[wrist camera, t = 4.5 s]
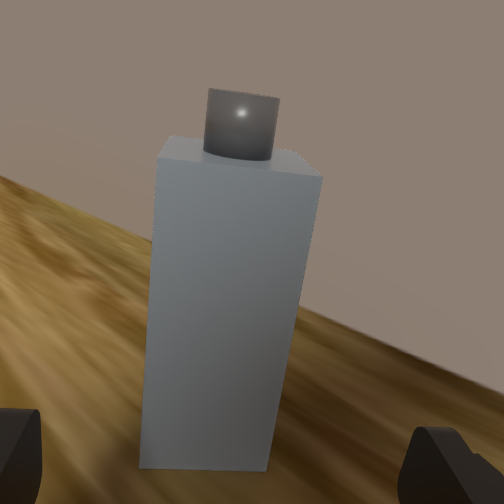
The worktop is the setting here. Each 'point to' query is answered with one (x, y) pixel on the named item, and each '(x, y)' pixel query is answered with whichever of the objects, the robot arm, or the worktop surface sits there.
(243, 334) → the grey-blue square bottle
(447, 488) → the robot arm
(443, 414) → the worktop surface
